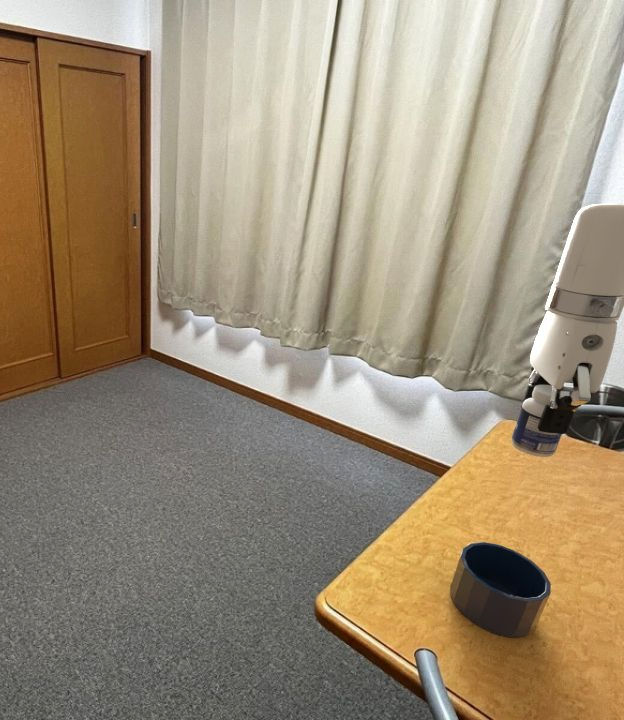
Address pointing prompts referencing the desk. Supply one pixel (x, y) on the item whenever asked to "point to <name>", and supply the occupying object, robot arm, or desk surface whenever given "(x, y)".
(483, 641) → the desk surface
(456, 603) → the bowl
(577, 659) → the desk surface
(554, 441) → the pill bottle
